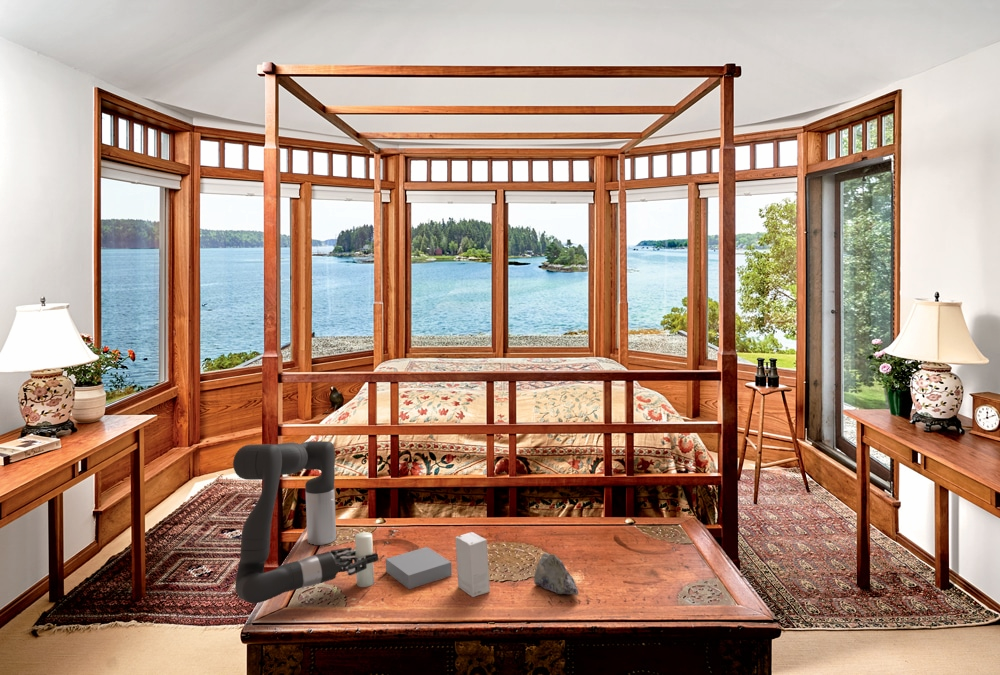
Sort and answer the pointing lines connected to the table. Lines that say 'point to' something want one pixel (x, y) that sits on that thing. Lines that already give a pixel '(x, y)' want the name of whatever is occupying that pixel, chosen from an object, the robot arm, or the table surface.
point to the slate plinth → (418, 567)
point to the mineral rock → (554, 576)
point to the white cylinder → (362, 549)
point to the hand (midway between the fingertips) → (372, 553)
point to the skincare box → (472, 564)
